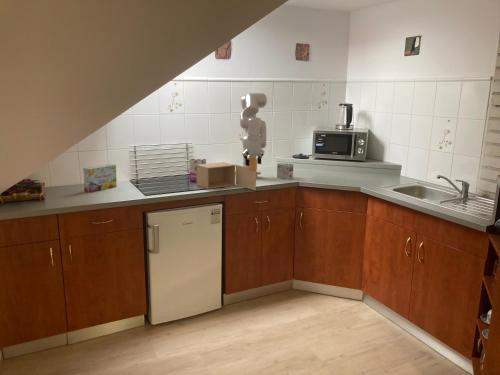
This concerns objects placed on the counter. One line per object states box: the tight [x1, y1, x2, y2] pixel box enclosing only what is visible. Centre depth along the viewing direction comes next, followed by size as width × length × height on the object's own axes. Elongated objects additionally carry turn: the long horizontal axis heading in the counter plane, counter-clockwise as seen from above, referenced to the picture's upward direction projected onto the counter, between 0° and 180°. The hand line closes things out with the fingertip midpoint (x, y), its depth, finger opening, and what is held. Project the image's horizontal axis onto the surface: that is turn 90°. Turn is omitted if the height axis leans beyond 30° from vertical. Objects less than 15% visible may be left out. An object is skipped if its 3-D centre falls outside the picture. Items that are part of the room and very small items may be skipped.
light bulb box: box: [276, 162, 294, 180], centre depth 315 cm, size 11×7×11 cm, turn 58°
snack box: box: [82, 163, 117, 193], centre depth 268 cm, size 21×6×15 cm, turn 148°
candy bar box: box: [189, 157, 207, 183], centre depth 297 cm, size 11×5×16 cm, turn 62°
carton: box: [196, 161, 236, 190], centre depth 286 cm, size 22×14×14 cm, turn 128°
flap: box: [235, 157, 258, 191], centre depth 279 cm, size 22×2×21 cm, turn 37°
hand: (253, 164), depth 272 cm, fingers open, 9 cm apart
